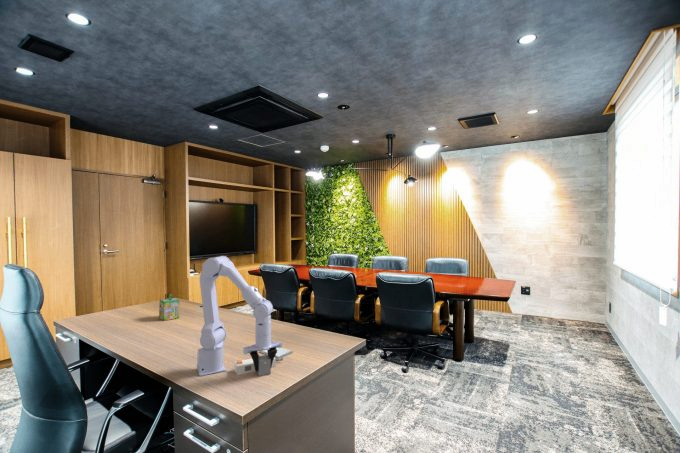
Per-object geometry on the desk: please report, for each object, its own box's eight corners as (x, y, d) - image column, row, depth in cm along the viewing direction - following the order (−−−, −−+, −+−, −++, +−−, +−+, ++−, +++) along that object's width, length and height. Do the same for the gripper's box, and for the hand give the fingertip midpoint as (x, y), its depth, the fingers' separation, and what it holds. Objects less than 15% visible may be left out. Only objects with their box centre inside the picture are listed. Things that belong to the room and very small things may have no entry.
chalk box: (158, 318, 202) (158, 294, 202) (174, 315, 208) (175, 292, 208) (163, 321, 195) (163, 296, 195) (179, 318, 201) (179, 294, 201)
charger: (259, 376, 122) (259, 361, 122) (254, 369, 128) (254, 355, 128) (270, 373, 124) (270, 359, 124) (265, 367, 130) (265, 353, 130)
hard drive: (292, 350, 145) (273, 344, 153) (279, 356, 139) (259, 349, 146) (292, 354, 145) (273, 348, 153) (279, 360, 139) (259, 353, 146)
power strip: (237, 375, 123) (237, 364, 123) (234, 370, 128) (234, 360, 128) (285, 364, 133) (285, 355, 133) (281, 360, 137) (281, 351, 137)
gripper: (246, 339, 118) (246, 377, 118) (284, 333, 125) (284, 369, 125) (242, 334, 124) (241, 370, 124) (278, 328, 132) (278, 362, 131)
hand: (263, 369), depth 125 cm, fingers closed on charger, 4 cm apart
